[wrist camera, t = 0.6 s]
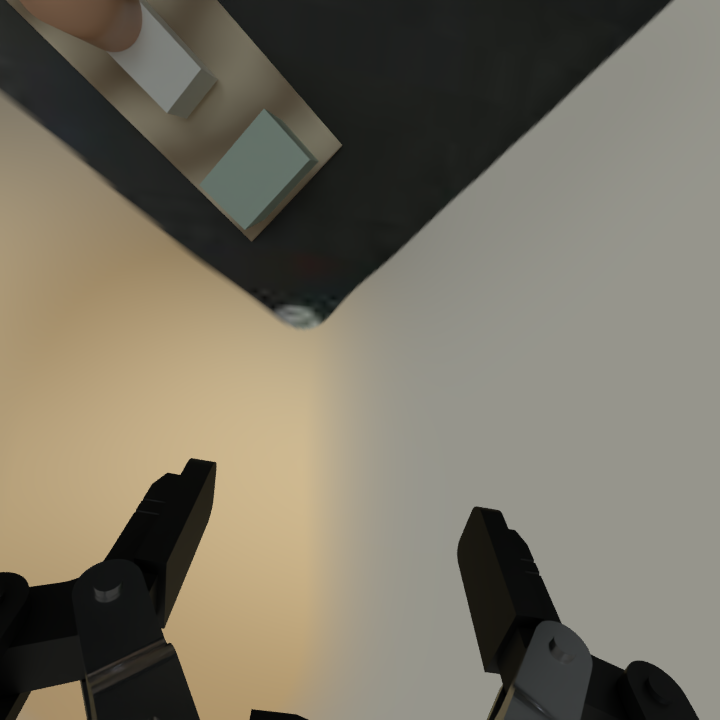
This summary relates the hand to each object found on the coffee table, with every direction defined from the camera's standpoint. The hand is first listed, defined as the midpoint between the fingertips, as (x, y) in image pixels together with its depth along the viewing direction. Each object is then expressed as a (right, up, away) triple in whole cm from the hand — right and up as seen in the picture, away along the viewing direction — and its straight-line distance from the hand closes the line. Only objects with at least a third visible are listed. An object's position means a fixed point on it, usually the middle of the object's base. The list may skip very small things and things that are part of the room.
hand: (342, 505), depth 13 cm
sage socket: (-6, +19, +19) cm, 27 cm away
